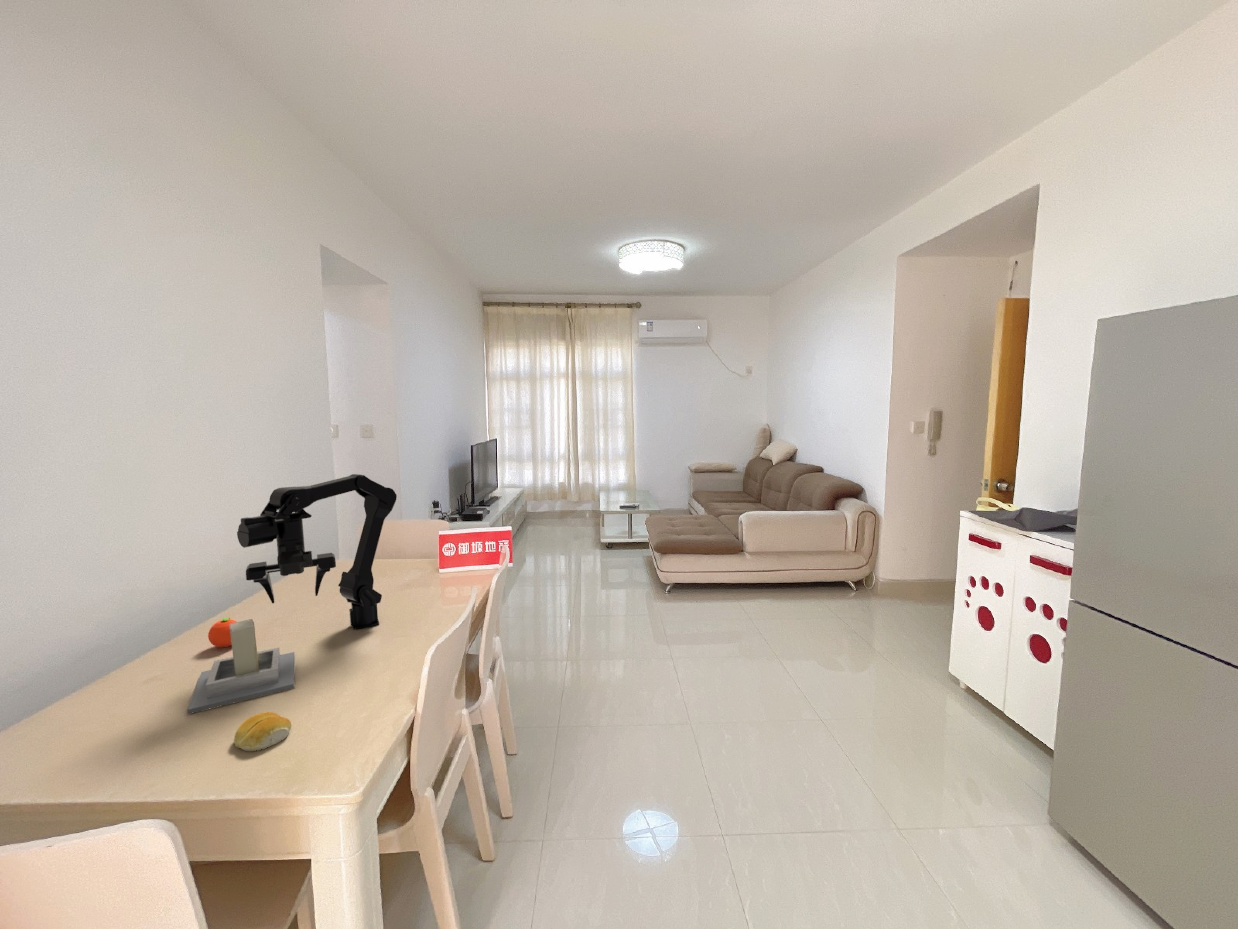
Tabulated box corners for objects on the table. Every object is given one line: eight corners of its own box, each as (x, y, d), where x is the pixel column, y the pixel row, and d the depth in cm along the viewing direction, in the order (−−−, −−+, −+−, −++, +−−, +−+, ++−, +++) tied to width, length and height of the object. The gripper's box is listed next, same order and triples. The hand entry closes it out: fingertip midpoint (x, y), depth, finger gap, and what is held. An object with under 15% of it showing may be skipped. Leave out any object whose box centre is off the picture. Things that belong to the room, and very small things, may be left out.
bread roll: (273, 720, 102) (271, 700, 101) (298, 733, 97) (297, 713, 97) (224, 743, 95) (222, 722, 94) (249, 759, 90) (247, 737, 90)
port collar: (280, 659, 124) (279, 647, 124) (278, 682, 114) (277, 668, 114) (215, 673, 118) (214, 661, 118) (207, 699, 107) (205, 685, 107)
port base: (294, 655, 128) (294, 652, 128) (294, 688, 113) (293, 683, 113) (202, 676, 119) (201, 672, 119) (187, 714, 104) (187, 709, 104)
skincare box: (260, 679, 115) (255, 626, 114) (235, 686, 112) (230, 632, 111) (258, 668, 120) (253, 618, 119) (234, 675, 117) (229, 623, 116)
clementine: (215, 641, 137) (212, 615, 137) (247, 636, 140) (244, 611, 139) (205, 654, 130) (202, 627, 129) (238, 649, 133) (236, 622, 132)
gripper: (241, 551, 118) (247, 617, 119) (334, 539, 127) (339, 601, 129) (245, 541, 127) (251, 603, 129) (332, 531, 137) (336, 588, 138)
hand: (295, 599), depth 131 cm, fingers open, 9 cm apart
